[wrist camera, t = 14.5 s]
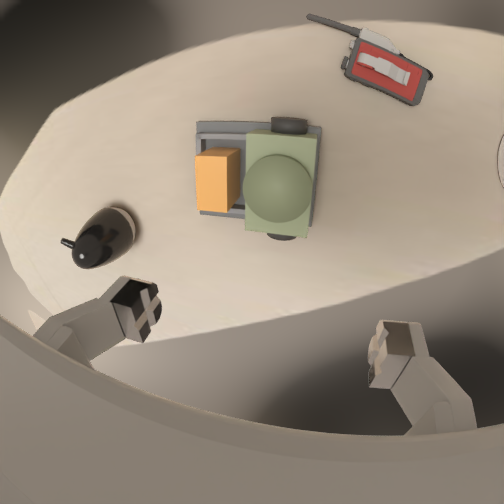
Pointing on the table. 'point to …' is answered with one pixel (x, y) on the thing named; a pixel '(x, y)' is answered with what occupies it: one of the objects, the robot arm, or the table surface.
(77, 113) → the table surface
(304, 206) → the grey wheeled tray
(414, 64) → the walkie-talkie
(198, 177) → the orange cardboard box
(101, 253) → the pump dispenser
